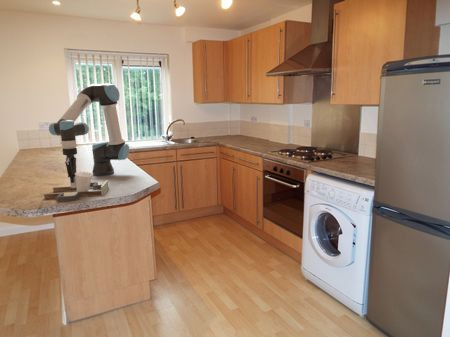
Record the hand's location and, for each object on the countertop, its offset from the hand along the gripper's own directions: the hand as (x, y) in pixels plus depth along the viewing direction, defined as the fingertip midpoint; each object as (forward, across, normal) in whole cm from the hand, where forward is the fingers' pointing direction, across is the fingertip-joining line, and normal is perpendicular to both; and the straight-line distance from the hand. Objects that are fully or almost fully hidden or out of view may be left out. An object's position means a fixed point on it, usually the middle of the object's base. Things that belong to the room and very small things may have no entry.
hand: (73, 187), depth 194 cm
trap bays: (+4, 0, +2) cm, 4 cm away
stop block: (+4, 0, +17) cm, 18 cm away
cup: (+3, 0, +4) cm, 6 cm away
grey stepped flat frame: (+4, 0, +2) cm, 4 cm away
